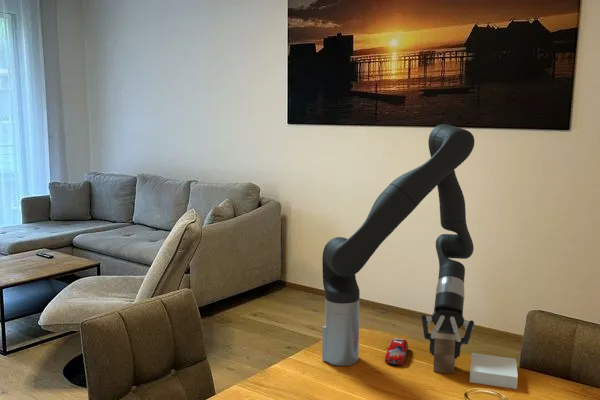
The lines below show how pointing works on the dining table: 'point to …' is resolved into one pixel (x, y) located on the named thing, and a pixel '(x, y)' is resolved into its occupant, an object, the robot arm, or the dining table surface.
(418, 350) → the dining table surface
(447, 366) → the walnut block
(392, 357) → the race car
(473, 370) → the riser
